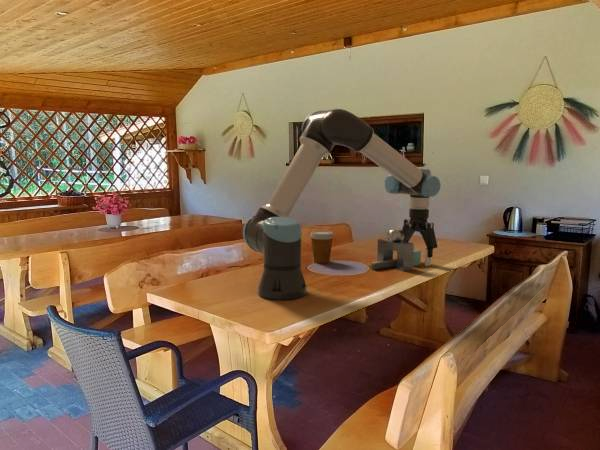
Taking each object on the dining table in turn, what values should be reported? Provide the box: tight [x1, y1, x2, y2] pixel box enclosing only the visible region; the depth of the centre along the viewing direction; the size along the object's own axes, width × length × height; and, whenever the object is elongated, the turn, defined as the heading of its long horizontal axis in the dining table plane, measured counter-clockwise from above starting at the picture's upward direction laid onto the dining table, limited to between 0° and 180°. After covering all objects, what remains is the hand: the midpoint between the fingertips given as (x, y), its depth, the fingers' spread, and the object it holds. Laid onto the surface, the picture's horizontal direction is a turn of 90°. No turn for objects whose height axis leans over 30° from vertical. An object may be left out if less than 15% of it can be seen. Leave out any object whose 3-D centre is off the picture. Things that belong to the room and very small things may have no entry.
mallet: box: [370, 249, 422, 271], centre depth 190 cm, size 22×6×6 cm, turn 122°
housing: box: [376, 228, 415, 272], centre depth 189 cm, size 5×14×14 cm, turn 32°
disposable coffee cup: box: [309, 230, 335, 264], centre depth 197 cm, size 10×10×12 cm
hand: (416, 262), depth 196 cm, fingers open, 11 cm apart
